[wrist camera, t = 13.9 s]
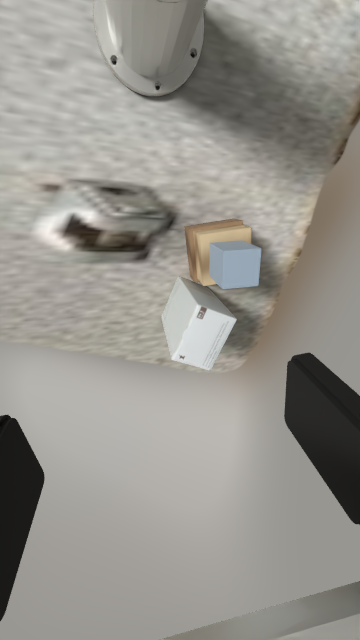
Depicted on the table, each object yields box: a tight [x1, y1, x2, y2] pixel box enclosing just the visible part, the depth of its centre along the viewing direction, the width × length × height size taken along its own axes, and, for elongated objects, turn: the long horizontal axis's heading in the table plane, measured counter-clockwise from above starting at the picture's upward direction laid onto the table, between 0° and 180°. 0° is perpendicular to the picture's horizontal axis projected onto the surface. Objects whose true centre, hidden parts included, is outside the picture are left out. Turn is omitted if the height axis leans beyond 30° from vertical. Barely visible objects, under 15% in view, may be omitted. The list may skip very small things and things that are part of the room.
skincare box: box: [161, 276, 237, 370], centre depth 41 cm, size 8×6×15 cm
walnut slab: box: [184, 219, 243, 283], centre depth 43 cm, size 8×8×4 cm
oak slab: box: [193, 225, 251, 286], centre depth 39 cm, size 7×7×4 cm
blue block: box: [209, 240, 261, 289], centre depth 35 cm, size 4×4×6 cm
